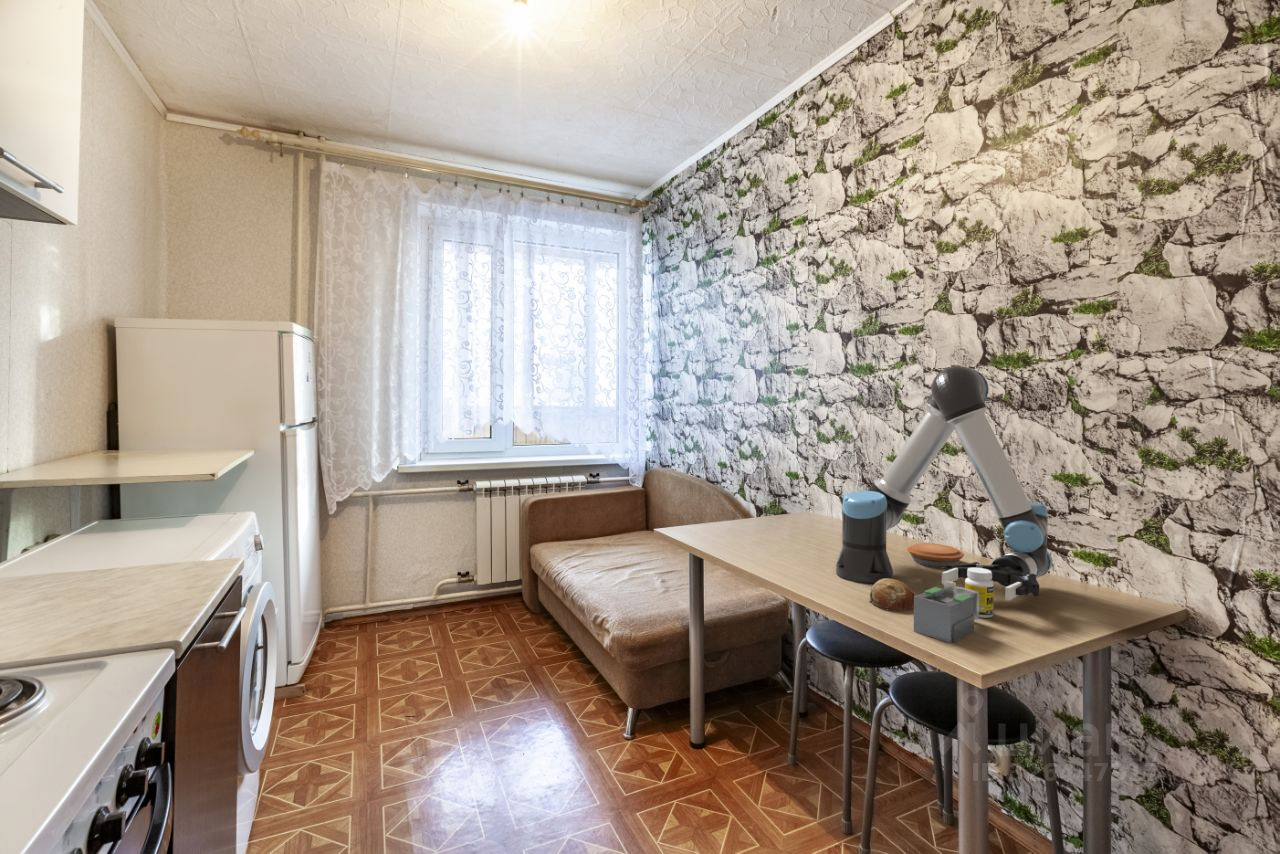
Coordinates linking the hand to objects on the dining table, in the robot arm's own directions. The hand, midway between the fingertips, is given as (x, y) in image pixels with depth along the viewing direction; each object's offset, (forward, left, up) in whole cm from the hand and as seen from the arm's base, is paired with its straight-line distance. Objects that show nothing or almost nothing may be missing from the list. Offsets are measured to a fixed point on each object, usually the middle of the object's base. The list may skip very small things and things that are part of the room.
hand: (973, 585), depth 126 cm
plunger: (-2, -8, -6) cm, 10 cm away
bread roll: (-17, -3, -7) cm, 19 cm away
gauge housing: (-4, -14, -7) cm, 16 cm away
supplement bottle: (+1, +3, -7) cm, 8 cm away
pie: (-16, +44, -7) cm, 47 cm away
